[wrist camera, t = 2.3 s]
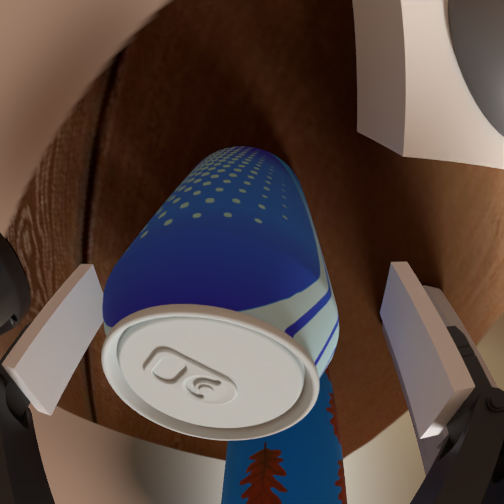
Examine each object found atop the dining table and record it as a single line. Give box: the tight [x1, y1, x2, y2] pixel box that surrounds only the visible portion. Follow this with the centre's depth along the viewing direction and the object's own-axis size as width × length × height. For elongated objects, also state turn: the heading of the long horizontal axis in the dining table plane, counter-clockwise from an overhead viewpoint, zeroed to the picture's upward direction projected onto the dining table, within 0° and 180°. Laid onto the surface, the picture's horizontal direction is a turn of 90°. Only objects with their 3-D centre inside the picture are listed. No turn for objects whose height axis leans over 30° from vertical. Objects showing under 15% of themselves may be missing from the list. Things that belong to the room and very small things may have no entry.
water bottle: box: [383, 285, 498, 476], centre depth 16 cm, size 9×8×25 cm
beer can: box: [101, 146, 339, 441], centre depth 15 cm, size 8×8×16 cm
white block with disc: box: [352, 0, 504, 169], centre depth 12 cm, size 16×14×8 cm
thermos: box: [221, 368, 347, 504], centre depth 21 cm, size 11×11×25 cm
